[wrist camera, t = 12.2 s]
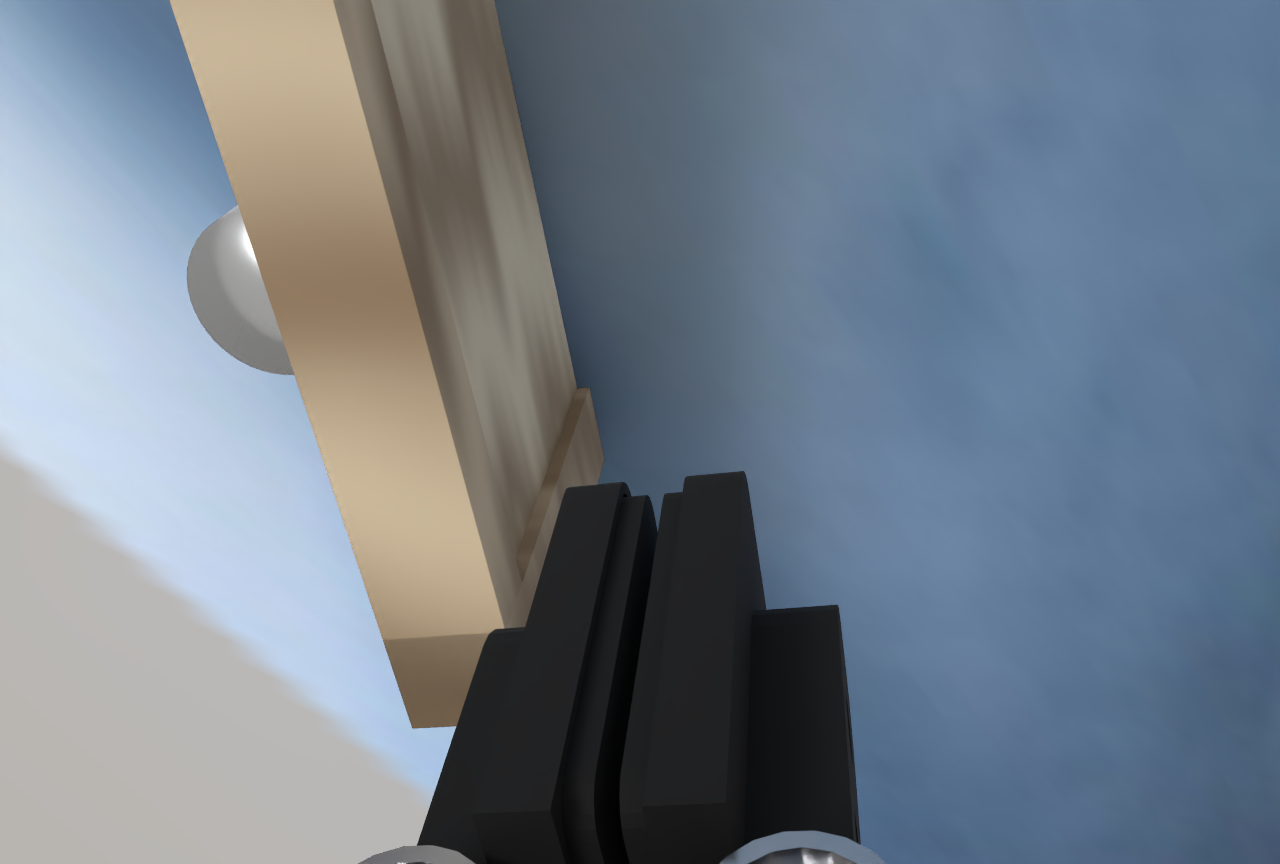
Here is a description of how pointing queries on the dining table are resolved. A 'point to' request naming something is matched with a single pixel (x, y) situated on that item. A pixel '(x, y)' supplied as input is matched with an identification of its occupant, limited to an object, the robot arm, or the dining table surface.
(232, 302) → the post
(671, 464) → the dining table surface
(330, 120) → the gate
